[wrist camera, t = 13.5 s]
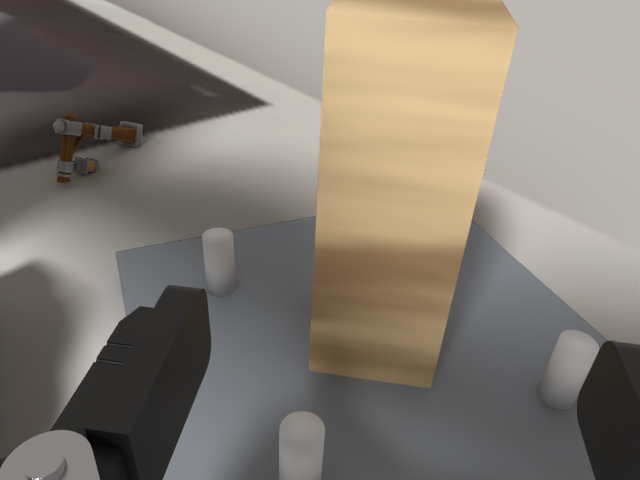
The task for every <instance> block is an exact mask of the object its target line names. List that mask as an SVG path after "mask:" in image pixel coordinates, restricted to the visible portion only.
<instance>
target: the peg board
mask: <svg viewBox="0 0 640 480" xmlns="http://www.w3.org/2000/svg"><path fill="white" fill-rule="evenodd" d="M315 231H316V216H315V217H309V218H304V219H298V220H292V221H287V222H281V223H275V224H270V225H264V226H259V227H253V228H247V229H242V230H236V231H230V230H229V229H226V228H222V227H216V228H211V229H208V230H206V231H205V232H204V233H203V234H202V237H197V238H191V239H186V240H180V241H174V242H169V243H163V244H157V245H152V246H146V247H141V248H135V249H129V250H124V251H118V252H116V258H117V263H118V269H119V275H120V281H121V287H122V293H123V299H124V305H125V311H126V316H128V315H129V314H130V313H132V312H133V311H134V310H135V309H137V308H138V307H139V306H144V307H152V308H154V307H155V305H156V303H157V301H158V300H159V298H160V296H161V294H162V293H163V291H164V289H165V288H166V287H167V286H168V285H177V286H185V287H193V288H201V289H205V290H206V293H207V300H208V310H209V321H210V332H211V354H210V360H209V364H208V368H207V370H206V373H205V376H204V378H203V381H202V383H201V386H200V388H199V391H198V393H197V395H196V398H195V400H194V403H193V405H192V408H191V410H190V413H189V415H188V418H187V420H186V423H185V425H184V428H183V430H182V433H181V435H180V438H179V440H178V443H177V445H176V448H175V450H174V453H173V455H172V458H171V460H170V463H169V465H168V468H167V470H166V473H165V475H164V478H163V480H595V477H594V474H593V471H592V467H591V464H590V461H589V457H588V454H587V451H586V447H585V444H584V441H583V437H582V434H581V431H580V427H579V424H578V419H577V400H578V395H579V392H580V389H581V387H582V385H583V383H584V381H585V379H586V377H587V375H588V373H589V370H590V368H591V366H592V364H593V362H594V360H595V358H596V356H597V354H598V352H599V349H600V348H601V346H602V344H603V343H604V342H606V341H607V340H606V339H605V338H604V337H603V336H602V335H601V334H599V333H598V332H597V331H596V330H595V329H594V328H593V327H592V326H590V325H589V324H588V323H587V322H586V321H585V320H584V319H583V318H581V317H580V316H579V315H578V314H577V313H576V312H575V311H574V310H572V309H571V308H570V307H569V306H568V305H567V304H566V303H565V302H563V301H562V300H561V299H560V298H559V297H558V296H557V295H556V294H554V293H553V292H552V291H551V290H550V289H549V288H548V287H547V286H545V285H544V284H543V283H542V282H541V281H540V280H539V279H538V278H536V277H535V276H534V275H533V274H532V273H531V272H530V271H529V270H527V269H526V268H525V267H524V266H523V265H522V264H521V263H520V262H518V261H517V260H516V259H515V258H514V257H513V256H512V255H511V254H509V253H508V252H507V251H506V250H505V249H504V248H503V247H502V246H500V245H499V244H498V243H497V242H496V241H495V240H494V239H493V238H491V237H490V236H489V235H488V234H487V233H486V232H485V231H484V230H482V229H481V228H480V227H479V226H478V225H477V224H476V223H475V222H473V221H471V225H470V229H469V233H468V237H467V241H466V246H465V250H464V254H463V258H462V262H461V266H460V270H459V274H458V278H457V283H456V287H455V291H454V295H453V299H452V303H451V307H450V311H449V315H448V319H447V324H446V328H445V332H444V336H443V340H442V344H441V348H440V352H439V356H438V361H437V365H436V369H435V373H434V377H433V381H432V385H431V389H430V388H423V387H417V386H410V385H403V384H396V383H389V382H382V381H375V380H368V379H361V378H354V377H347V376H340V375H333V374H327V373H320V372H313V371H308V370H309V350H310V330H311V310H312V290H313V271H314V251H315Z"/></svg>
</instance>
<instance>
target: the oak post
mask: <svg viewBox="0 0 640 480" xmlns="http://www.w3.org/2000/svg"><path fill="white" fill-rule="evenodd" d="M518 28H519V27H518V26H517V24H516V23H515V21H514V19H513V18H512V16H511V15H510V13H509V11H508V9H507V8H506V6H505V5H504V3H503V1H502V0H333V2H332V3H331V5H330V7H329V8H328V10H327V13H326V32H325V52H324V72H323V91H322V111H321V131H320V151H319V171H318V191H317V211H316V231H315V251H314V271H313V290H312V310H311V330H310V350H309V370H308V371H313V372H320V373H327V374H333V375H340V376H347V377H354V378H361V379H368V380H375V381H382V382H389V383H396V384H403V385H410V386H417V387H423V388H430V389H431V385H432V381H433V377H434V373H435V369H436V365H437V361H438V356H439V352H440V348H441V344H442V340H443V336H444V332H445V328H446V324H447V319H448V315H449V311H450V307H451V303H452V299H453V295H454V291H455V287H456V283H457V278H458V274H459V270H460V266H461V262H462V258H463V254H464V250H465V246H466V241H467V237H468V233H469V229H470V225H471V221H472V217H473V213H474V209H475V204H476V200H477V196H478V192H479V188H480V184H481V180H482V176H483V172H484V167H485V163H486V159H487V155H488V151H489V147H490V143H491V139H492V135H493V131H494V126H495V122H496V118H497V114H498V110H499V105H500V102H501V98H502V94H503V89H504V85H505V81H506V77H507V73H508V69H509V64H510V61H511V57H512V52H513V48H514V44H515V40H516V36H517V31H518Z"/></svg>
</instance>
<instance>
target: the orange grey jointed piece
mask: <svg viewBox="0 0 640 480" xmlns="http://www.w3.org/2000/svg"><path fill="white" fill-rule="evenodd" d="M53 128H54V130H55V133H59V134H62V141H61V151H60V160H58V163H57V171H58V174H57V175H58V178H57V181H58V182H61V183H70V177H71V172H73V170H74V172H77V173H81V174H86V175H87V172H96V171H97V168H98V167H99V164H98V163H97V161H98V160H94V159H90V158H86V159H83V158H78V157H75V161H72V157H73V153H74V152H75V150H76V149H77V147H78V146H79V144H80V143H81V141H82V140H83V138H84V137H88V138H92V139H100V140H101V139H106V140H111V139H118V140H119V141H118V143H119V144H124V145H128V146H133V147H140V146H141V139H142V130H143V125H142V124H137V123H132V122H127V121H120V126H117V127H109V126H104V125H96V124H91V123H84V124H82V122H77V116H76V115H74V114H66V115H65V118H64V119H59V118H56V121H55V122H54V123H53ZM75 136H77V137H76V139H75V140H74V138H75Z"/></svg>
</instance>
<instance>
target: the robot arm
mask: <svg viewBox="0 0 640 480" xmlns="http://www.w3.org/2000/svg"><path fill="white" fill-rule="evenodd" d="M210 354H211V332H210V321H209V310H208V300H207V293H206V290H205V289H201V288H193V287H185V286H177V285H168V286H167V287H166V288H165V289H164V291H163V293H162V294H161V296H160V298H159V300H158V301H157V303H156V305H155V307H154V308H152V307H144V306H139V307H138V308H137V309H135V310H134V311H133V312H132V313H130V314H129V315H128V316H126V317H125V318H124V319H123V320H121V321H120V322H119V323H118V325H117V327H116V328H115V330H114V331H113V333H112V334H111V336H110V338H109V339H108V341H107V345H106V346H104V347H103V349H102V350H101V352H100V353H99V355H98V356H97V360H96V362H94V363H93V364H92V366H91V368H90V369H89V371H88V372H87V374H86V375H85V377H84V379H83V380H82V382H81V383H80V385H79V386H78V388H77V390H76V391H75V393H74V394H73V396H72V397H71V399H70V401H69V402H68V404H67V405H66V407H65V408H64V410H63V412H62V413H61V415H60V416H59V418H58V419H57V421H56V423H55V424H54V425H53V427H52V428H51V429H50V430H49V431H48V432H45V433H42V434H39V435H36V436H34V437H32V438H30V439H28V440H27V441H25V442H24V443H22V444H21V445H19V446H18V447H17V448H16V449H15V450H14V451H13V452H11V454H10V455H9V456H8V457H6V458H3V459H0V480H163V478H164V475H165V473H166V470H167V468H168V465H169V463H170V460H171V458H172V455H173V453H174V450H175V448H176V445H177V443H178V440H179V438H180V435H181V433H182V430H183V428H184V425H185V423H186V420H187V418H188V415H189V413H190V410H191V408H192V405H193V403H194V400H195V398H196V395H197V393H198V391H199V388H200V386H201V383H202V381H203V378H204V376H205V373H206V370H207V368H208V364H209V360H210ZM577 419H578V424H579V427H580V431H581V434H582V437H583V441H584V444H585V447H586V451H587V454H588V457H589V461H590V464H591V467H592V471H593V474H594V477H595V480H640V345H638V344H630V343H622V342H614V341H606V342H604V343H603V344H602V346H601V348H600V349H599V352H598V354H597V356H596V358H595V360H594V362H593V364H592V366H591V368H590V370H589V373H588V375H587V377H586V379H585V381H584V383H583V385H582V387H581V389H580V392H579V395H578V400H577Z"/></svg>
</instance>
